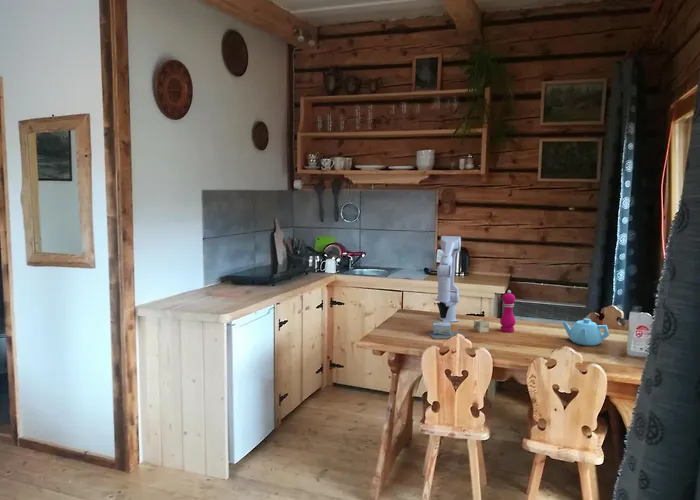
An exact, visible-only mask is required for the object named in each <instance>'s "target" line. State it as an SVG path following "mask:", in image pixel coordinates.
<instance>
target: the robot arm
mask: <svg viewBox="0 0 700 500" xmlns="http://www.w3.org/2000/svg"><path fill="white" fill-rule="evenodd" d="M439 242H440V248H441V250H442V252H443V254H442V255H441V257H440V261H439V265H438V266H437V269H436V270H437V271H436V274H437V276H436V277H437V296H436V298H435V299H434V300H435V301H436V302H437V303H436V304H437V305H436V306H437V309H438V311H439V316H438V317H437V318H438V319H439V320H441V322H449V323H453V322H459V320H458V319H457V316H456V315H457V313H456V312H457V304H458V303H459V301H460V289H459V287H458V286H456V284H455V272H456V270H455V268H456V256H457V254H458V253H460V252H461V245H462V238H461V236H456V235H455V236H452V235H449V236H448V235H442V236H440V241H439Z"/></svg>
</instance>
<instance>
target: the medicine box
mask: <svg viewBox="0 0 700 500" xmlns="http://www.w3.org/2000/svg"><path fill="white" fill-rule="evenodd" d="M451 326H452V325H451V322H443V321H434V320H433V321H432V332H433V334H434V335H451V332H452V330H451Z"/></svg>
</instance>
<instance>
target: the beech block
mask: <svg viewBox="0 0 700 500" xmlns="http://www.w3.org/2000/svg"><path fill="white" fill-rule="evenodd" d="M489 327H490V321H487V320H485V319H474V320H473V331H474V332H477V333H480V334H482V332H483V333H489V331H490V330H489V329H490V328H489Z"/></svg>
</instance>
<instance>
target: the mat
mask: <svg viewBox="0 0 700 500" xmlns="http://www.w3.org/2000/svg"><path fill="white" fill-rule="evenodd" d="M457 333H460V334H462V335H464V336H465V337H466V338H465V339H468V336H467V335H465V334H464V333H463V332H462V331H457V330H456V331H451V335H434V334H433V331H431V332H430V331H429V332H427V335H428V336H430V338H432V339H433V340H449V339H448V338H450V337H452V336H454V335H455V334H457Z"/></svg>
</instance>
